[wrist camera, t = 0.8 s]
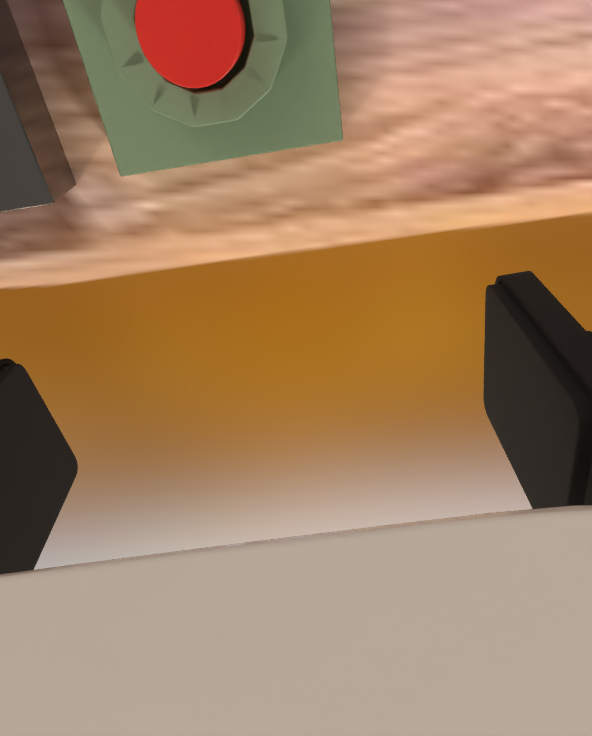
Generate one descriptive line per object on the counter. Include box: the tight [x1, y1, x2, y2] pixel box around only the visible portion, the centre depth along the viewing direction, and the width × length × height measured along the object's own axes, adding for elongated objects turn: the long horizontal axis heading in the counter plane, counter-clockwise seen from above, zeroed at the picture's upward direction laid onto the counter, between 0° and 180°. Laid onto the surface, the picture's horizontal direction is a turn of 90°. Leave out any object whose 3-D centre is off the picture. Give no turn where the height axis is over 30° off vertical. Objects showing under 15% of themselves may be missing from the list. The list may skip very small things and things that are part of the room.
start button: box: [135, 0, 245, 88], centre depth 19 cm, size 4×4×2 cm
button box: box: [63, 0, 343, 176], centre depth 21 cm, size 10×10×4 cm
